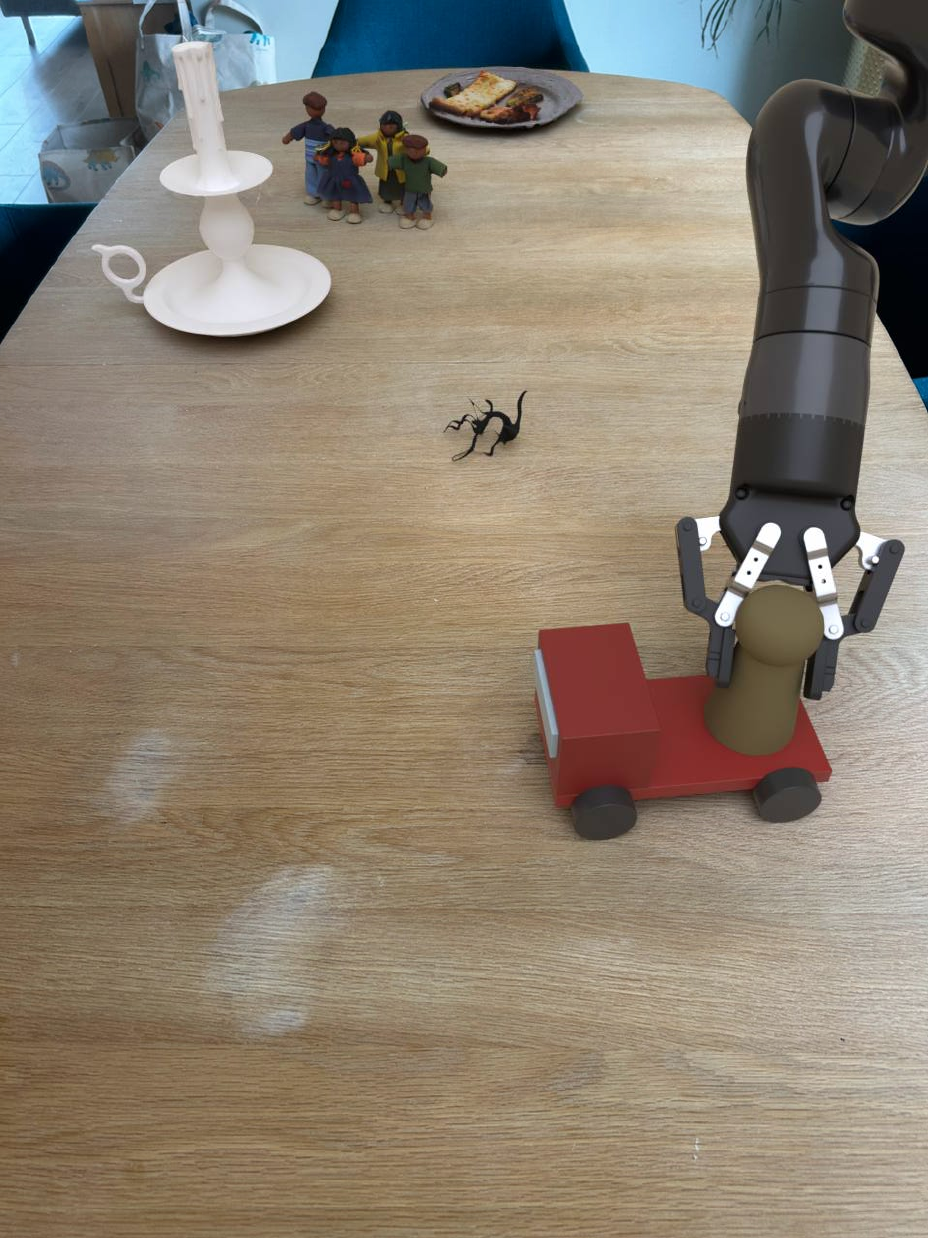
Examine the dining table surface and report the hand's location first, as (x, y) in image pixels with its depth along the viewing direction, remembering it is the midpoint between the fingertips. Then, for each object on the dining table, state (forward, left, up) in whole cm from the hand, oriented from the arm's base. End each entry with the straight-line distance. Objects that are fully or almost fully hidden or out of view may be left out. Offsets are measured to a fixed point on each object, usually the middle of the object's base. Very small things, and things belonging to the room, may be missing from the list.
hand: (766, 691), depth 62 cm
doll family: (+22, -93, -9) cm, 96 cm away
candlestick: (+39, -68, -9) cm, 79 cm away
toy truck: (+4, -2, -8) cm, 10 cm away
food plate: (0, -127, -9) cm, 127 cm away
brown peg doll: (0, -2, -5) cm, 6 cm away
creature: (+13, -40, -9) cm, 43 cm away
